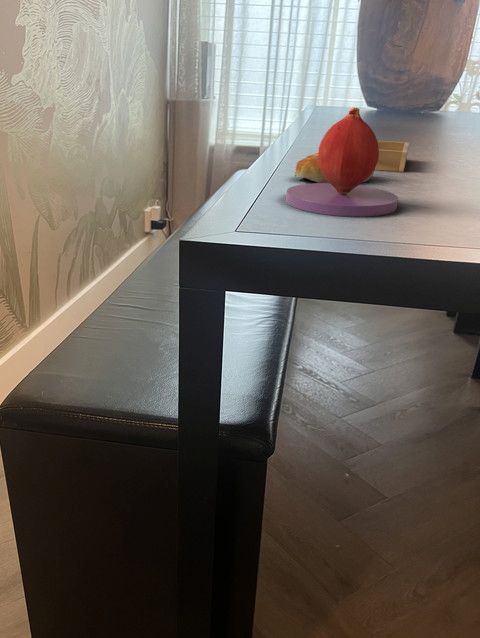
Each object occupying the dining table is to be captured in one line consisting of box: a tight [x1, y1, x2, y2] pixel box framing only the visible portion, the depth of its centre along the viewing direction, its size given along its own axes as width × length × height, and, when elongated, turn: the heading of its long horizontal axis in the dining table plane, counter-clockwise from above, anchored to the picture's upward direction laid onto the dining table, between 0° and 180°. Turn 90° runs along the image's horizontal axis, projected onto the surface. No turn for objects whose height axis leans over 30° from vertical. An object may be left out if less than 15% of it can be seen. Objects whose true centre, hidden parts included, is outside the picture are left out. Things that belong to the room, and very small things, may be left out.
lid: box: [285, 182, 399, 218], centre depth 61 cm, size 11×11×1 cm
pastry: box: [294, 152, 375, 183], centre depth 72 cm, size 9×7×4 cm
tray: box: [374, 140, 410, 173], centre depth 84 cm, size 10×10×2 cm
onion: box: [317, 106, 379, 194], centre depth 59 cm, size 6×6×8 cm
